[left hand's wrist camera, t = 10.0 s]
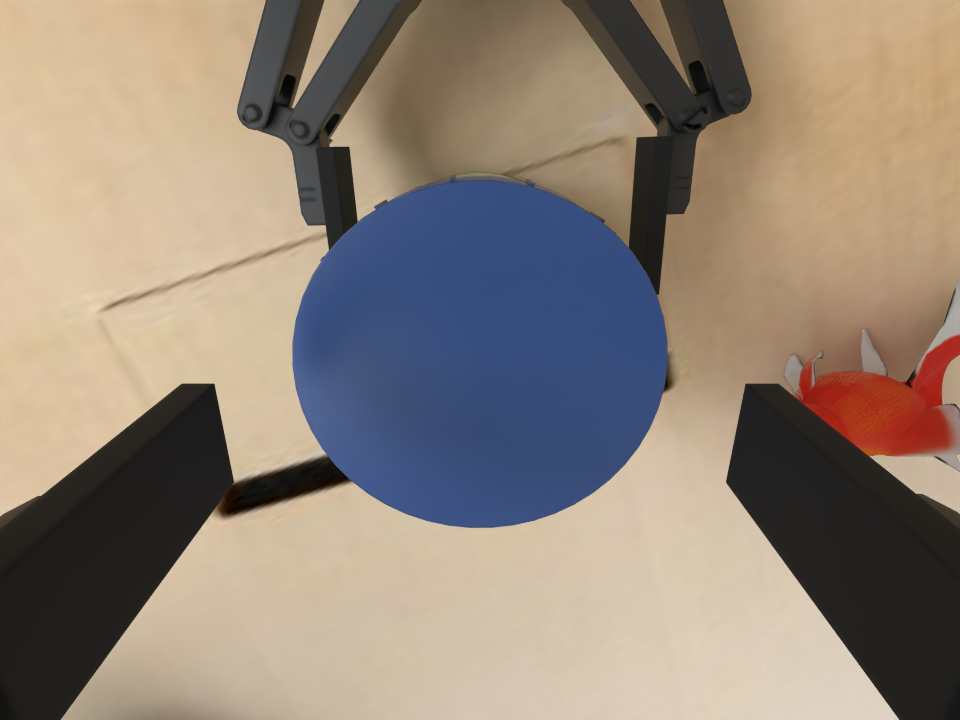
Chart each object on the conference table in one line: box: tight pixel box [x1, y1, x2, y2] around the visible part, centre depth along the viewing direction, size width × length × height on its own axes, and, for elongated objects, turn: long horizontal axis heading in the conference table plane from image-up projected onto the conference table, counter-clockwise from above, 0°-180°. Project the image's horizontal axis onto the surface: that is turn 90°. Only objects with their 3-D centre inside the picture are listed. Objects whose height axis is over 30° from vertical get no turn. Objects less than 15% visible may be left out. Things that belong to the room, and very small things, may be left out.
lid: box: [293, 175, 668, 528], centre depth 17 cm, size 11×11×2 cm
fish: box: [784, 280, 960, 472], centre depth 29 cm, size 11×16×10 cm
